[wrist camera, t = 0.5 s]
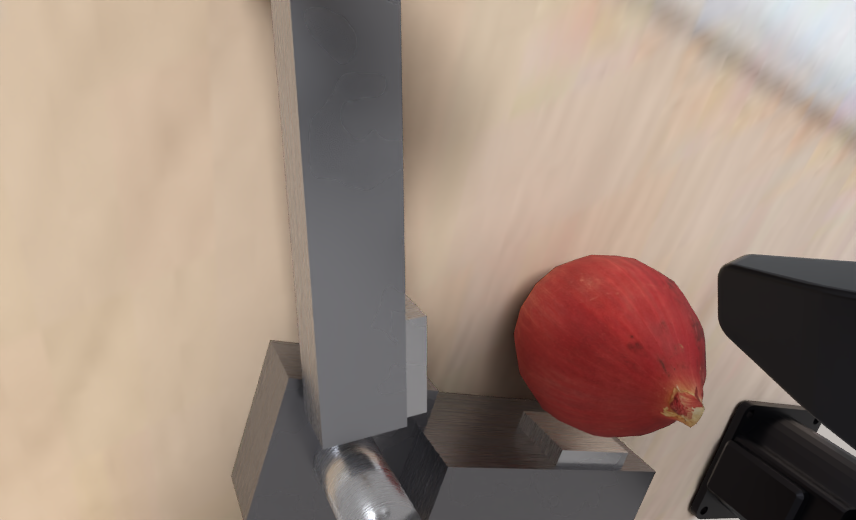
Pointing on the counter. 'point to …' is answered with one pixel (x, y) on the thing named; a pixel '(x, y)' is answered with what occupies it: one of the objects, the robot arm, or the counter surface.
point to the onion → (612, 348)
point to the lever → (348, 215)
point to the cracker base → (429, 461)
